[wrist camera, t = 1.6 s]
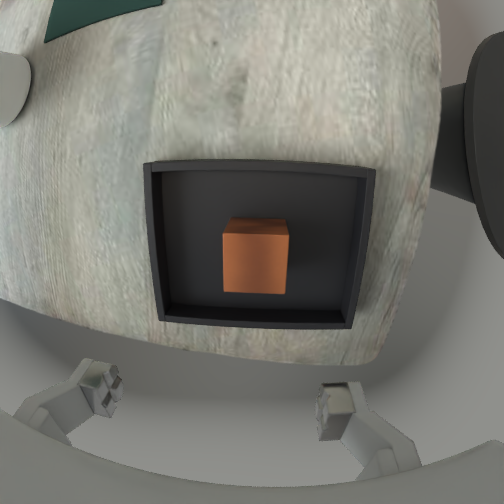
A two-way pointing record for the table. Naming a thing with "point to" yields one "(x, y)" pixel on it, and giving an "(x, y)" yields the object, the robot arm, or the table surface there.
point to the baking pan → (258, 206)
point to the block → (255, 255)
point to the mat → (88, 13)
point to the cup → (13, 85)
